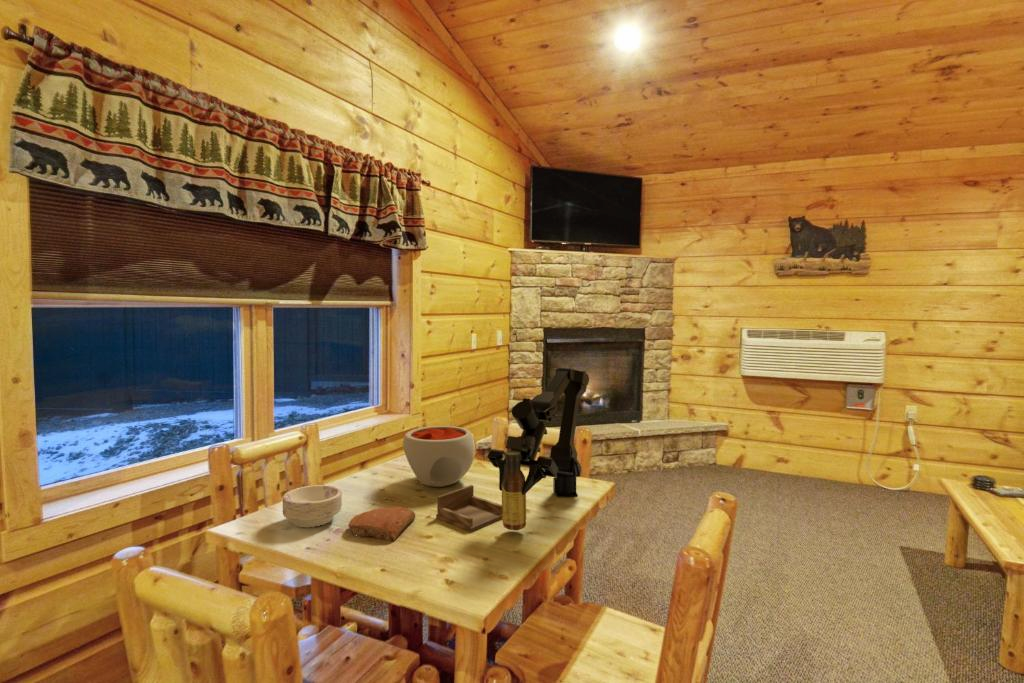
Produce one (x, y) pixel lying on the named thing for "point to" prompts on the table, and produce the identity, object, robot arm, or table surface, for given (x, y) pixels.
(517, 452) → the sauce bottle
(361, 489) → the table surface
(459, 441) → the pot
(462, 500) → the brown wooden tray
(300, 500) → the beige round bowl
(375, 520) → the brown rounded slab
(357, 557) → the table surface
